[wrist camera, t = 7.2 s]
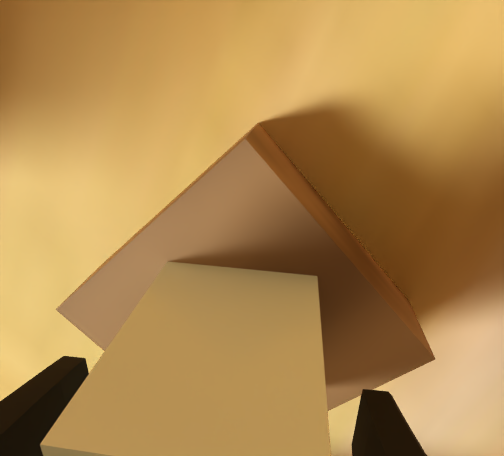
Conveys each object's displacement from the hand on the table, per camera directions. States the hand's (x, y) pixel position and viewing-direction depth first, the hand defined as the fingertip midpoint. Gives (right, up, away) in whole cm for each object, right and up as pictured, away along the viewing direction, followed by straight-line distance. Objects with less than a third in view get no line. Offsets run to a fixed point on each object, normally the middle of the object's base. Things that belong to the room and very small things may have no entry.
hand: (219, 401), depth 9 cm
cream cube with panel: (0, +1, +2) cm, 3 cm away
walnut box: (+1, +2, +6) cm, 6 cm away
